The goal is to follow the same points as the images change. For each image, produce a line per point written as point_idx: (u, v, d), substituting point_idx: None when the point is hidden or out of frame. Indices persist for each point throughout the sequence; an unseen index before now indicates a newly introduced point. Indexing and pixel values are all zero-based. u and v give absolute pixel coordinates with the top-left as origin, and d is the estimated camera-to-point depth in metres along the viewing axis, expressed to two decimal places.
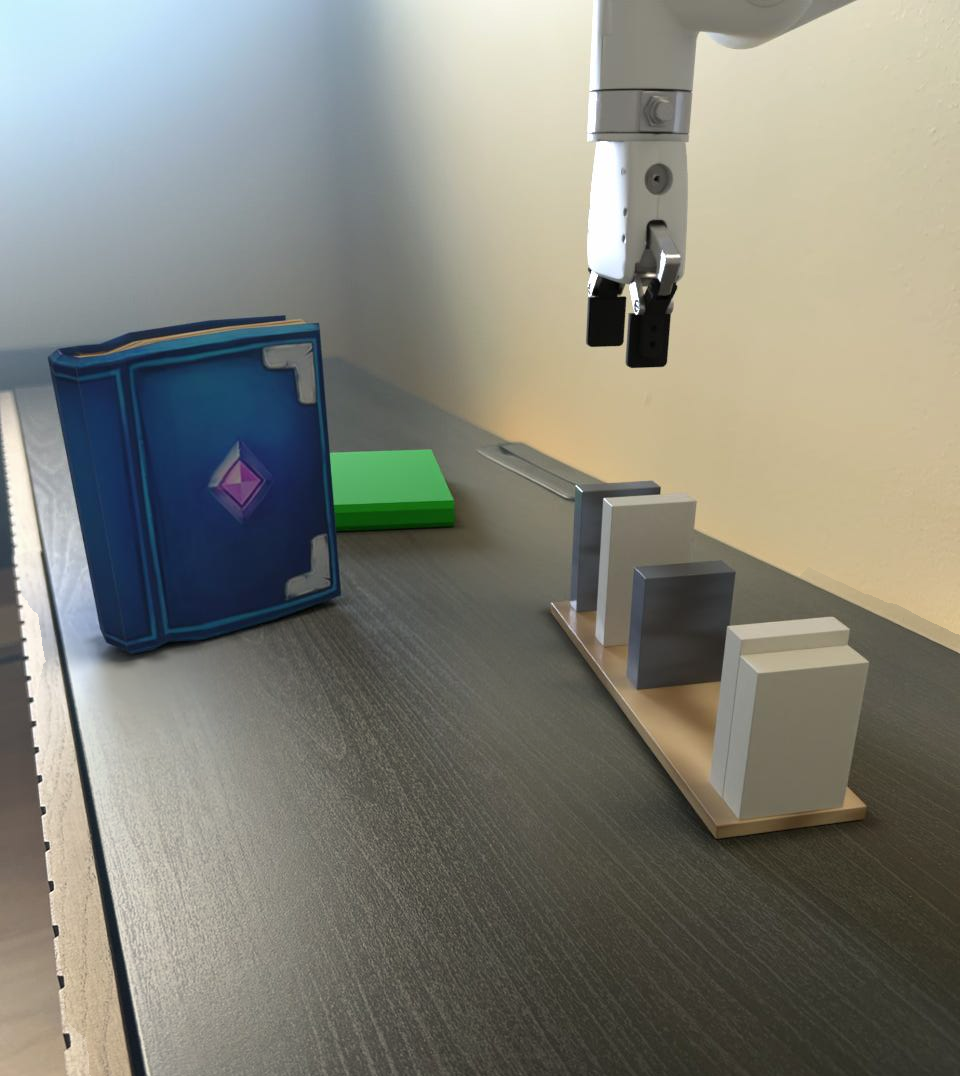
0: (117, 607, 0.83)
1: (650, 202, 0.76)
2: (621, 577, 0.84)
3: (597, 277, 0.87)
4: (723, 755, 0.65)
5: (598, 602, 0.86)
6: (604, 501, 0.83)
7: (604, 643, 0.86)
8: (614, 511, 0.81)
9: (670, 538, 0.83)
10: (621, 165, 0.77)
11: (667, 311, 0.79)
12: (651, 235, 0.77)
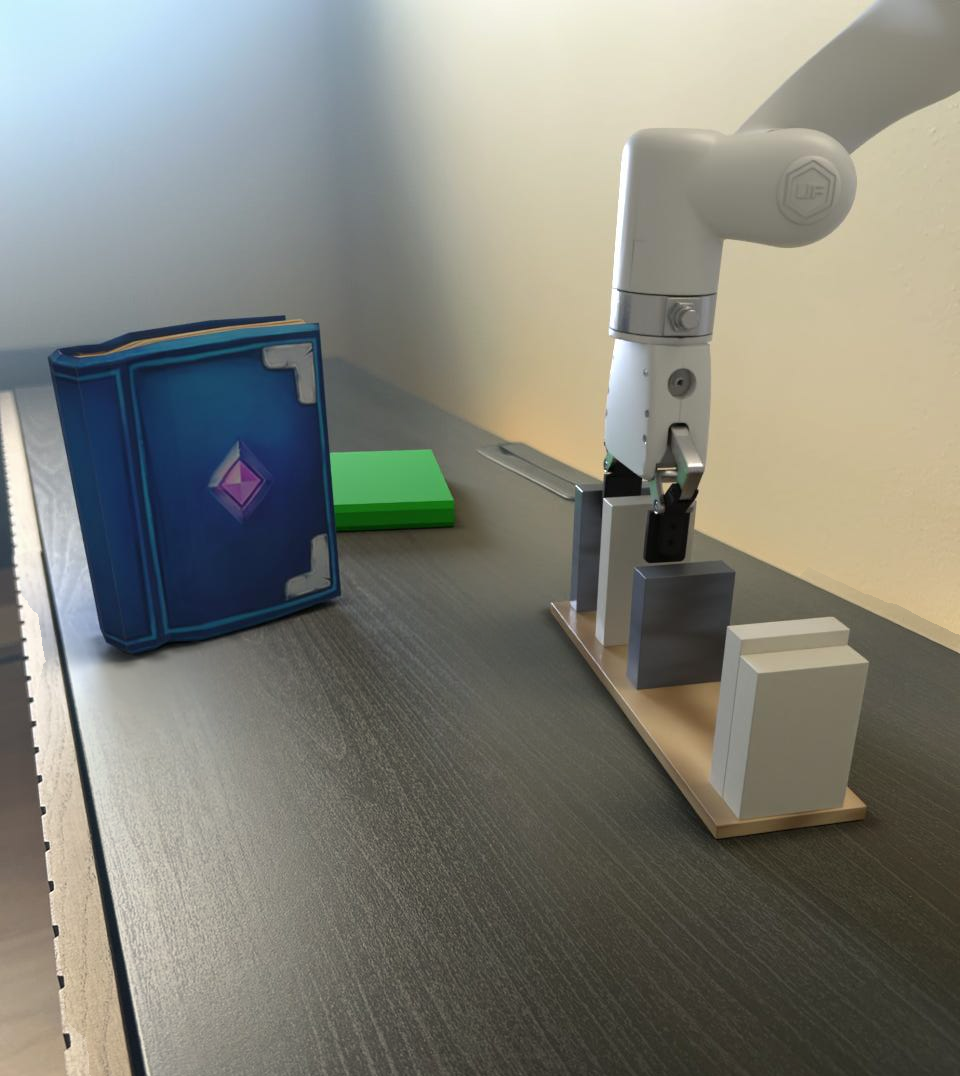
0: (117, 607, 0.83)
1: (673, 406, 0.75)
2: (621, 577, 0.84)
3: (614, 457, 0.85)
4: (723, 755, 0.65)
5: (598, 602, 0.86)
6: (604, 501, 0.83)
7: (604, 643, 0.86)
8: (614, 511, 0.81)
9: None
10: (643, 366, 0.75)
11: (687, 511, 0.77)
12: (673, 439, 0.75)
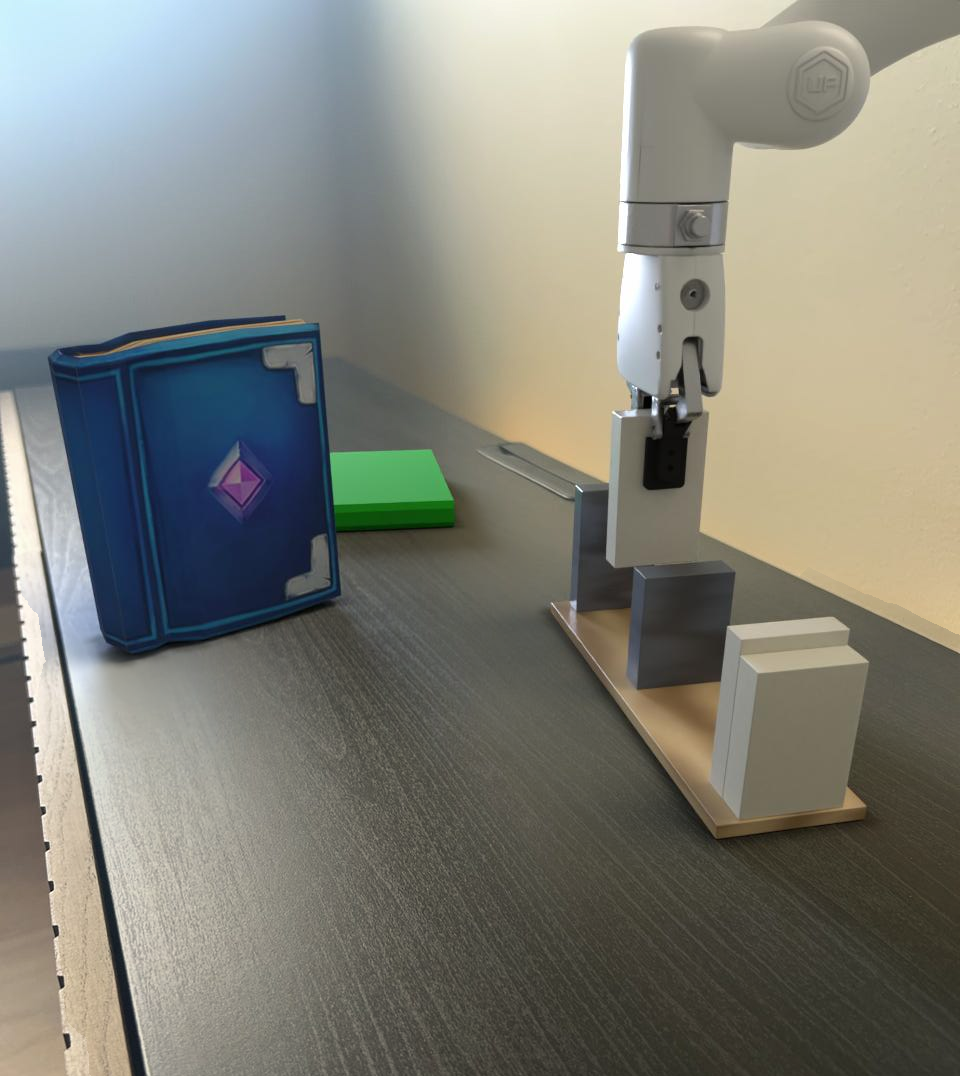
0: (117, 607, 0.83)
1: (686, 319, 0.72)
2: (631, 493, 0.81)
3: (638, 396, 0.81)
4: (723, 755, 0.65)
5: (608, 522, 0.84)
6: (613, 414, 0.80)
7: (615, 564, 0.83)
8: (623, 423, 0.79)
9: None
10: (655, 280, 0.73)
11: (682, 437, 0.79)
12: (681, 368, 0.74)
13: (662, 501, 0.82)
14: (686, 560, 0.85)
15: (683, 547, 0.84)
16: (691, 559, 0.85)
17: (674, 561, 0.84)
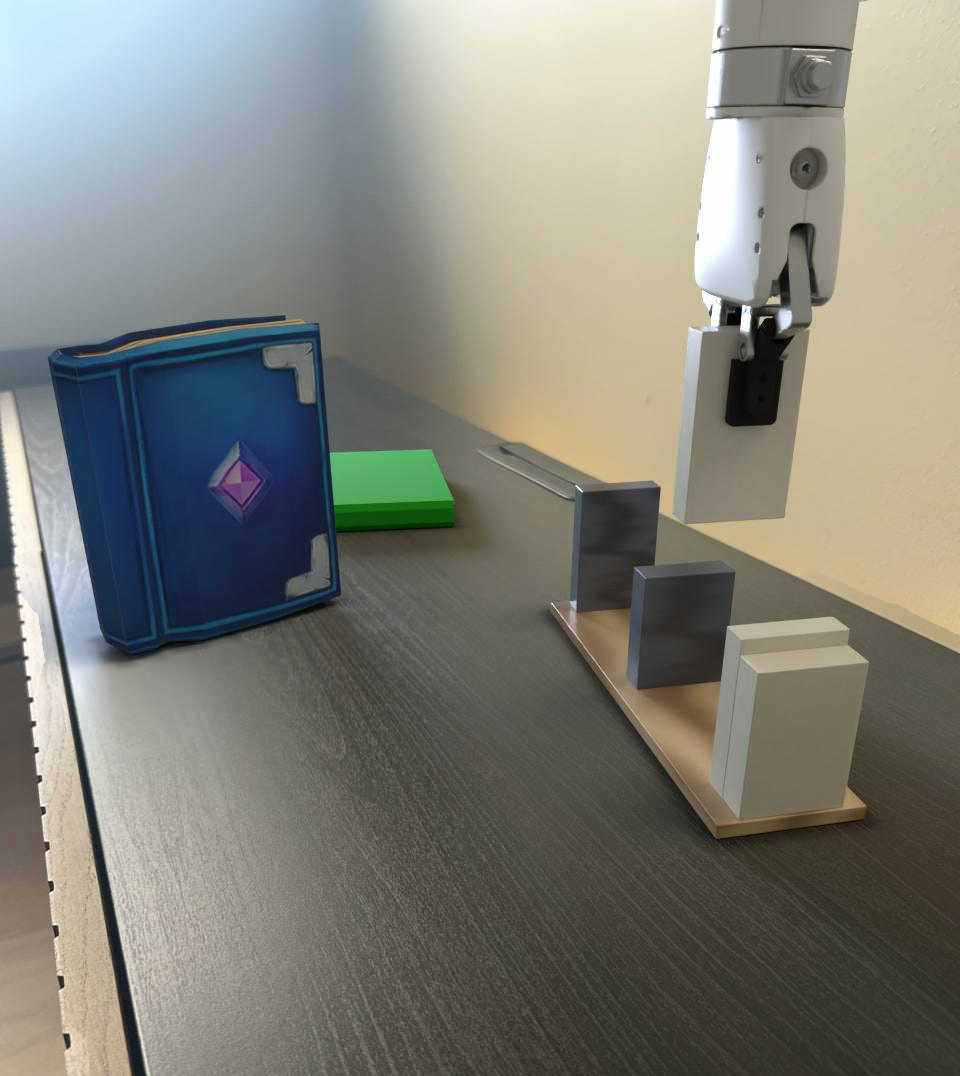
0: (117, 607, 0.83)
1: (796, 199, 0.57)
2: (710, 430, 0.65)
3: (721, 310, 0.65)
4: (723, 755, 0.65)
5: (678, 467, 0.68)
6: (690, 330, 0.64)
7: (685, 519, 0.68)
8: (705, 339, 0.63)
9: None
10: (757, 150, 0.57)
11: (778, 360, 0.63)
12: (785, 264, 0.58)
13: (746, 441, 0.66)
14: (771, 517, 0.69)
15: (769, 500, 0.68)
16: (777, 516, 0.69)
17: (757, 518, 0.69)
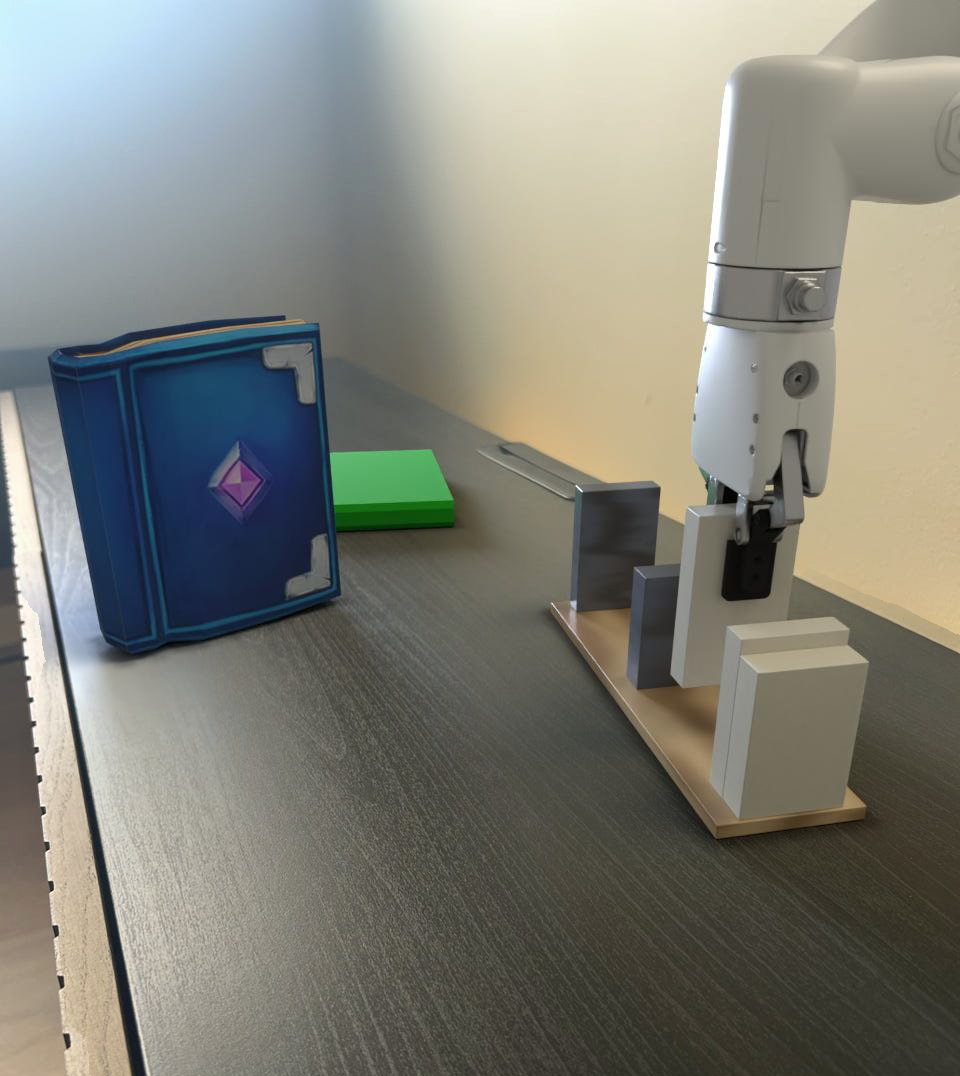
0: (117, 607, 0.83)
1: (789, 408, 0.60)
2: (706, 604, 0.68)
3: (717, 489, 0.68)
4: (723, 755, 0.65)
5: (676, 633, 0.71)
6: (688, 510, 0.67)
7: (683, 684, 0.70)
8: (702, 523, 0.66)
9: None
10: (751, 359, 0.60)
11: (772, 542, 0.66)
12: (779, 465, 0.61)
13: (741, 612, 0.69)
14: None
15: None
16: None
17: None
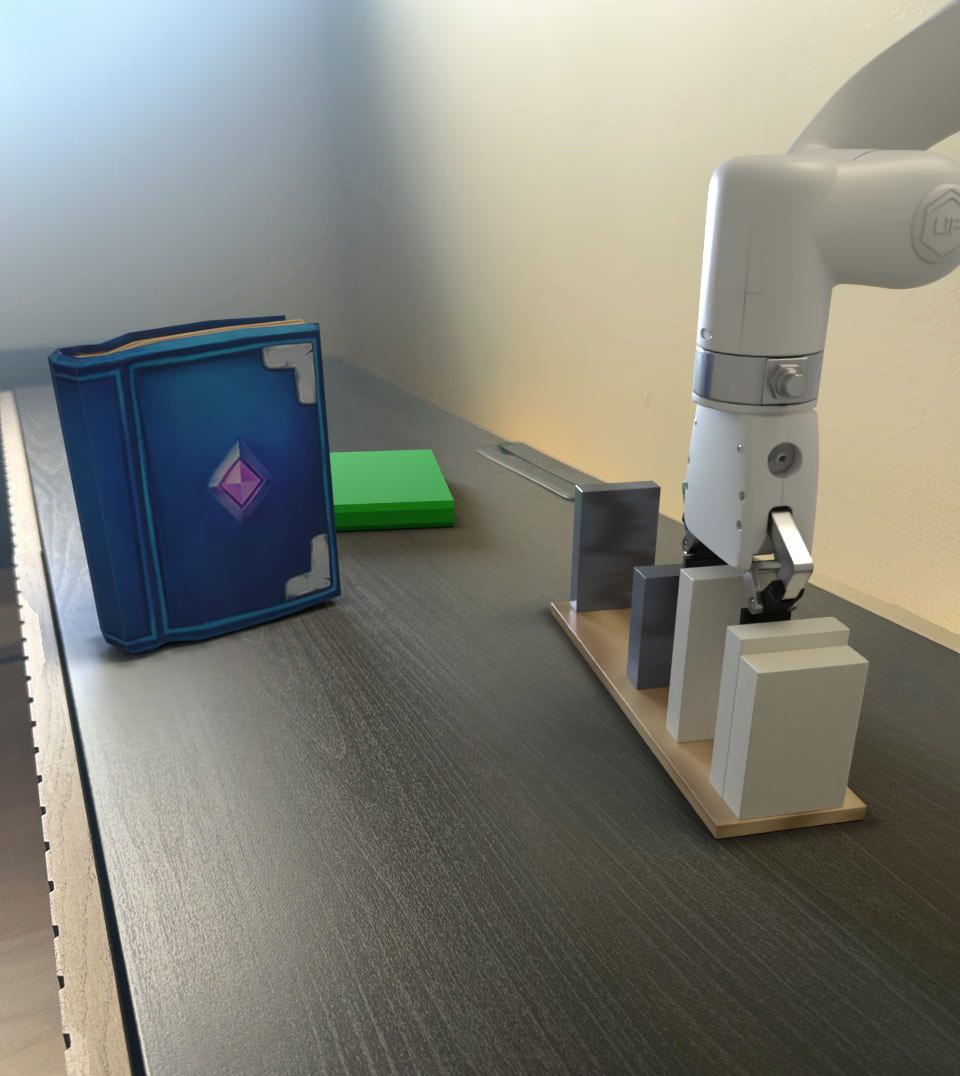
0: (117, 607, 0.83)
1: (774, 487, 0.62)
2: (700, 663, 0.70)
3: (696, 537, 0.72)
4: (723, 755, 0.65)
5: (671, 689, 0.72)
6: (682, 573, 0.69)
7: (678, 739, 0.72)
8: (695, 586, 0.67)
9: None
10: (737, 440, 0.63)
11: (789, 610, 0.65)
12: (774, 527, 0.63)
13: None
14: None
15: None
16: None
17: None
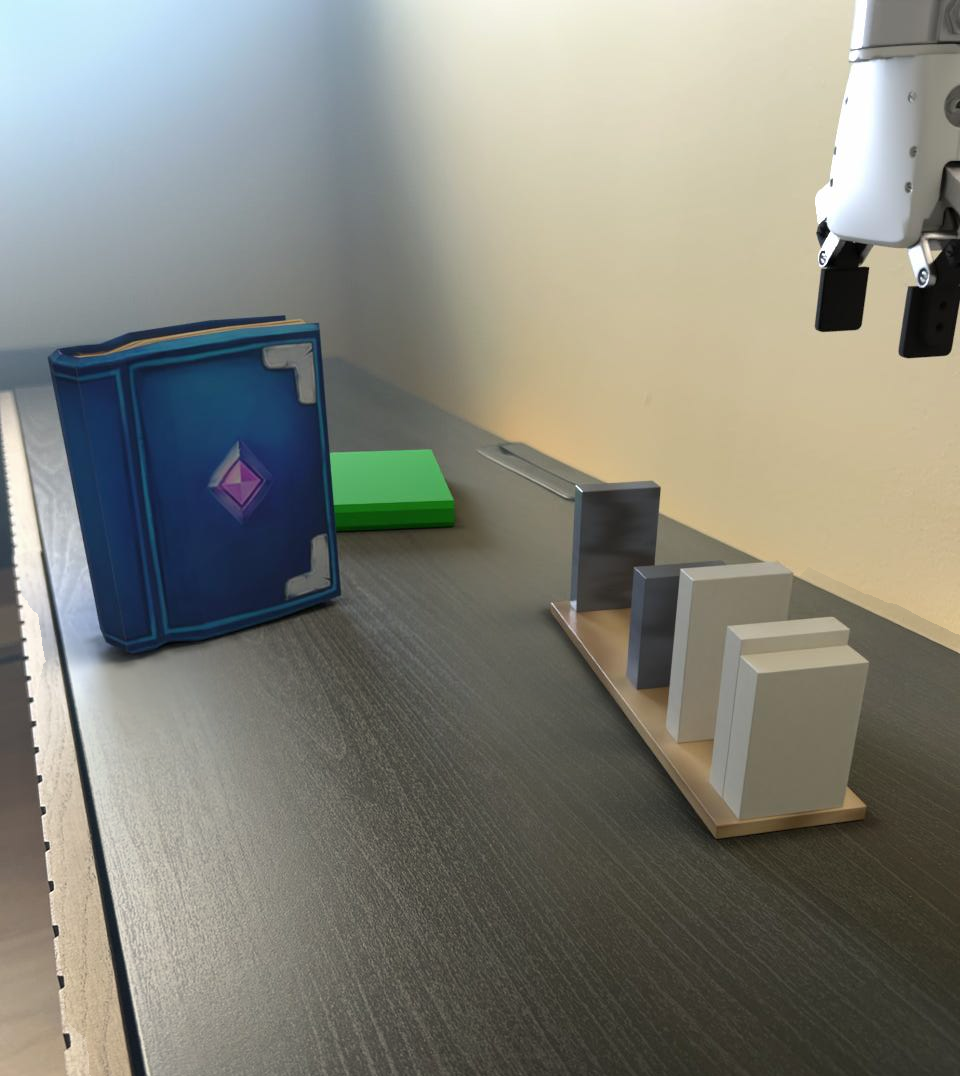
0: (117, 607, 0.83)
1: (950, 137, 0.57)
2: (700, 663, 0.70)
3: (838, 242, 0.68)
4: (723, 755, 0.65)
5: (671, 689, 0.72)
6: (682, 573, 0.69)
7: (678, 739, 0.72)
8: (695, 586, 0.67)
9: (760, 616, 0.69)
10: (908, 89, 0.58)
11: None
12: (950, 181, 0.58)
13: None
14: None
15: None
16: None
17: None
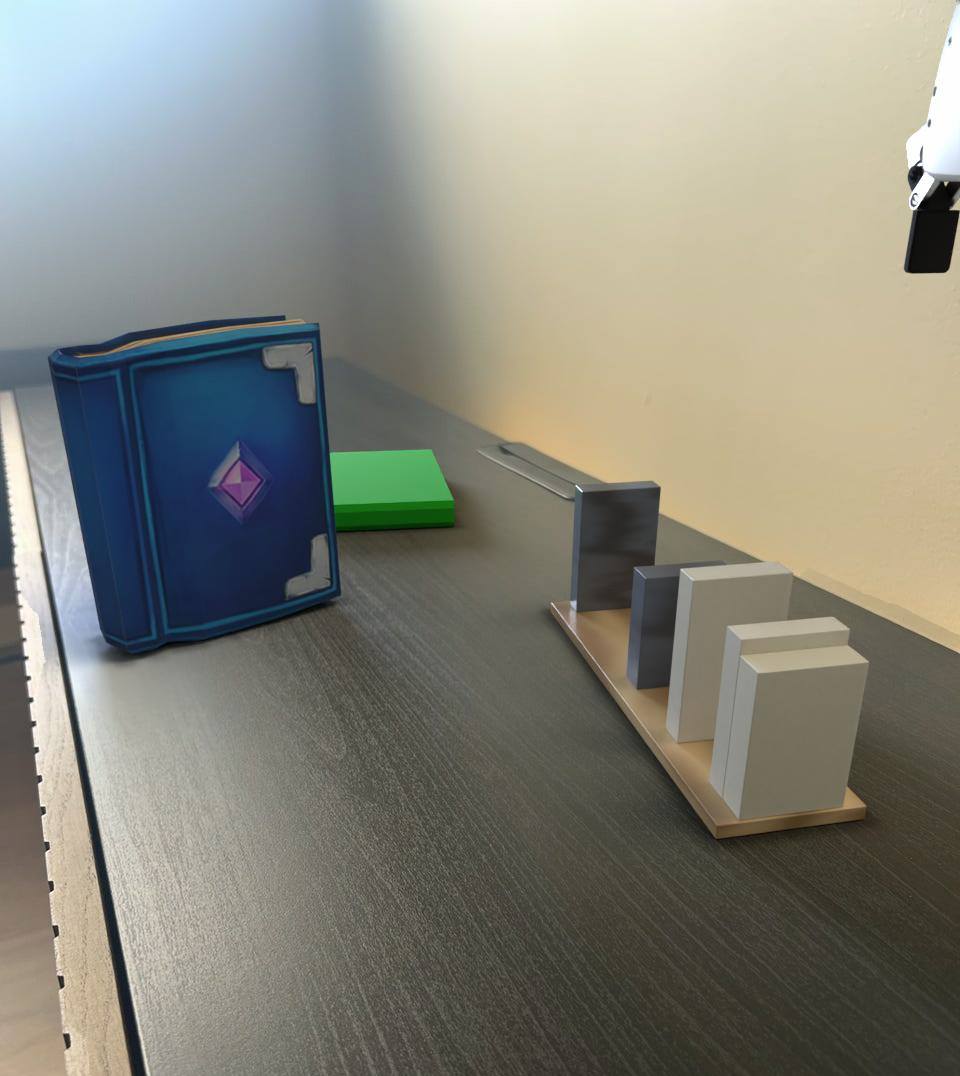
0: (117, 607, 0.83)
1: None
2: (700, 663, 0.70)
3: (933, 183, 0.69)
4: (723, 755, 0.65)
5: (671, 689, 0.72)
6: (682, 573, 0.69)
7: (678, 739, 0.72)
8: (695, 586, 0.67)
9: (760, 616, 0.69)
10: None
11: None
12: None
13: None
14: None
15: None
16: None
17: None
